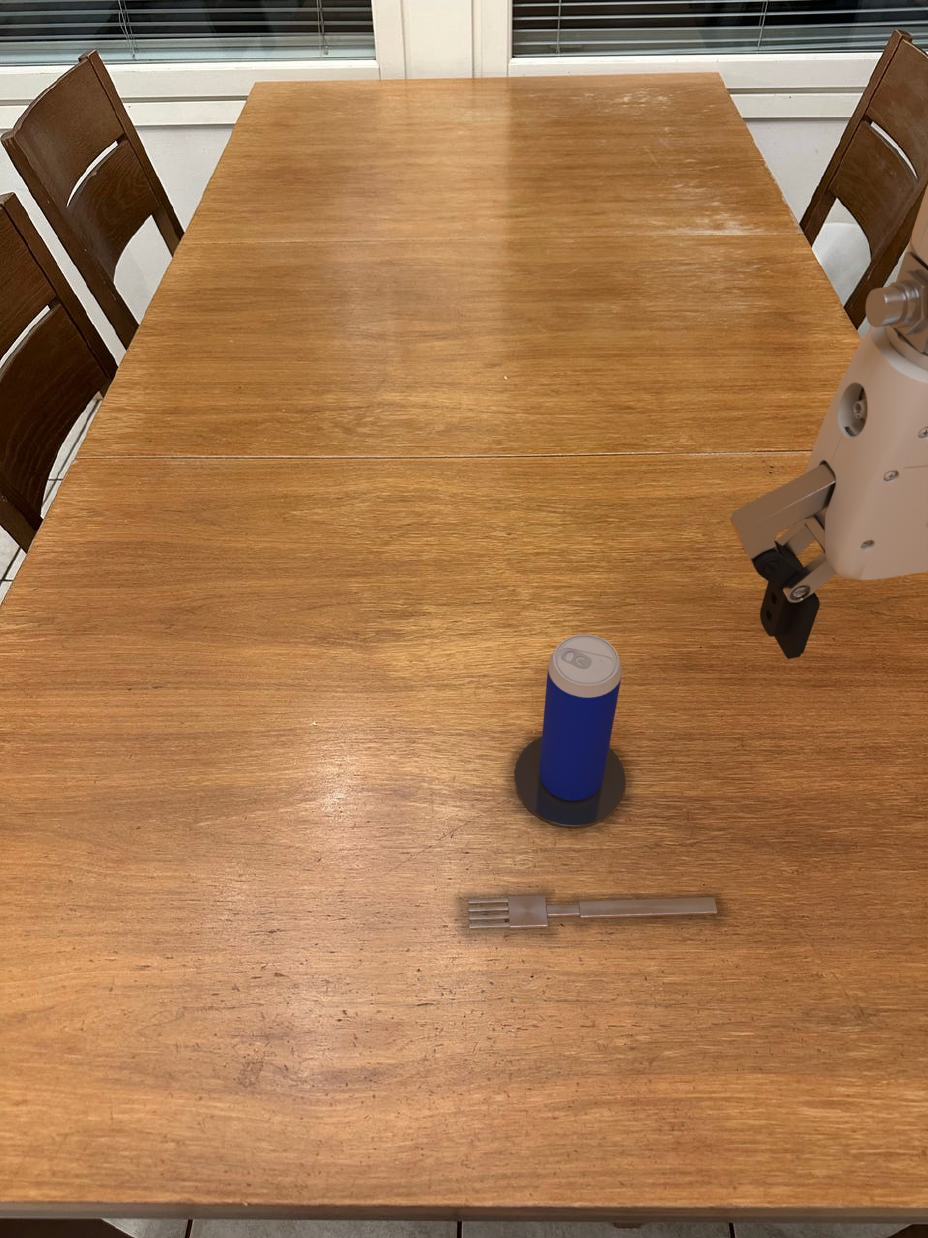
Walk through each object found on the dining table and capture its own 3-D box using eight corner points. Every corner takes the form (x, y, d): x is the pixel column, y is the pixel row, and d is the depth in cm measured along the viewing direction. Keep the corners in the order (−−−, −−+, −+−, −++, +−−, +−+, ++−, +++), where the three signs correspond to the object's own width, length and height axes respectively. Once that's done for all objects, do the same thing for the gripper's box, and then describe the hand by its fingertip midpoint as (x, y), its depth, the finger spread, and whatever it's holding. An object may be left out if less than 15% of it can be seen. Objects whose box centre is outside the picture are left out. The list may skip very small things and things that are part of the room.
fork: (711, 891, 70) (712, 889, 70) (718, 922, 69) (719, 920, 68) (468, 899, 70) (468, 897, 70) (469, 930, 68) (469, 928, 68)
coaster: (641, 759, 78) (642, 757, 78) (598, 847, 73) (599, 844, 72) (542, 718, 81) (543, 715, 81) (494, 799, 76) (494, 796, 75)
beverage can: (611, 763, 77) (633, 645, 66) (589, 814, 74) (608, 698, 63) (553, 741, 79) (564, 622, 68) (529, 790, 76) (537, 673, 64)
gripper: (828, 392, 31) (737, 710, 43) (1295, 320, 33) (1079, 645, 45) (738, 283, 36) (680, 596, 49) (1147, 226, 38) (989, 542, 50)
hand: (873, 620), depth 47 cm, fingers open, 9 cm apart
